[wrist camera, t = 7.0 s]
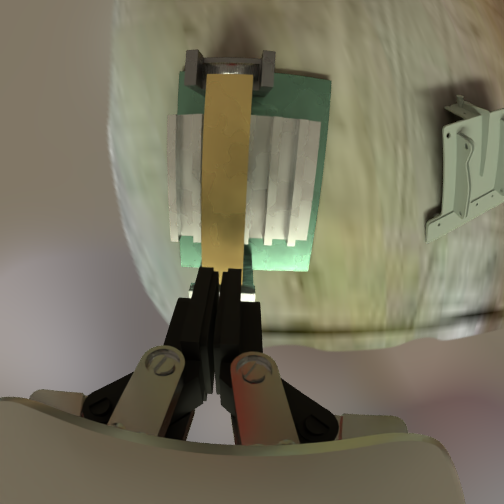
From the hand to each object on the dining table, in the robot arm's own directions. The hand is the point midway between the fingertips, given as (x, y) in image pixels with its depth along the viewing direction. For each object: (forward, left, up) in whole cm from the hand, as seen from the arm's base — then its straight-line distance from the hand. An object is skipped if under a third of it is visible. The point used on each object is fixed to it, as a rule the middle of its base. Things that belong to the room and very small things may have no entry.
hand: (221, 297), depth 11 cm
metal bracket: (-7, +23, -12) cm, 27 cm away
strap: (-4, 0, -6) cm, 7 cm away
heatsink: (-3, +1, -12) cm, 12 cm away
